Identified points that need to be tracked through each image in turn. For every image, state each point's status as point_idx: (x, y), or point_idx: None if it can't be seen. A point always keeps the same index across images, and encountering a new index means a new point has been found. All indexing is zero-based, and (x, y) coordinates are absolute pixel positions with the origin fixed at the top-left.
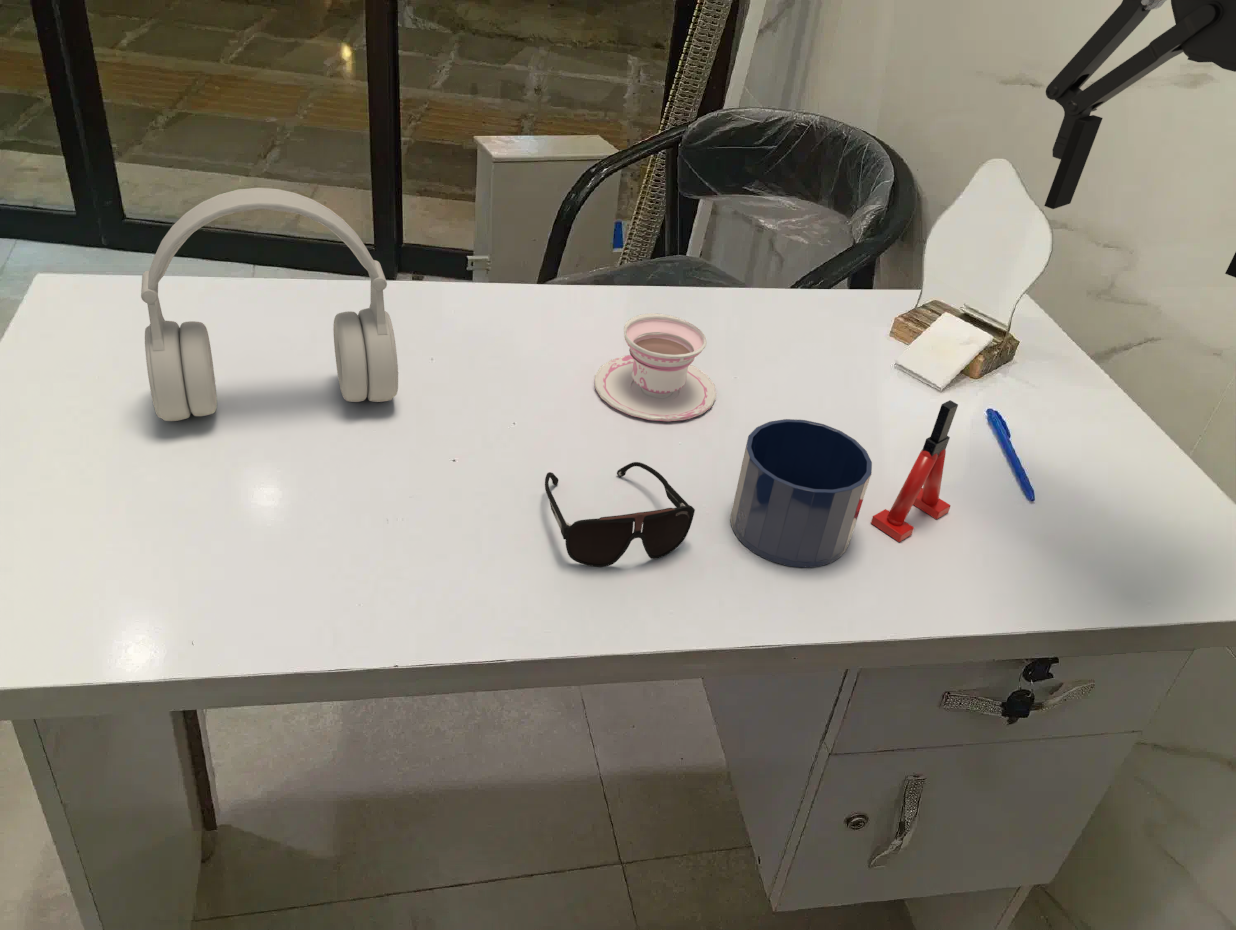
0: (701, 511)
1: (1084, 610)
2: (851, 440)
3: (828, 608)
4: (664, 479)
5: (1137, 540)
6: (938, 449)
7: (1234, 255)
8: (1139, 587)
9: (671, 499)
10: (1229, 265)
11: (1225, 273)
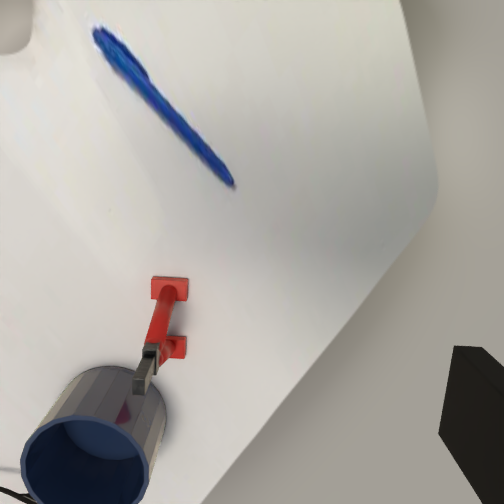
0: None
1: (343, 303)
2: (92, 420)
3: (198, 461)
4: (15, 497)
5: (341, 154)
6: (158, 362)
7: (460, 465)
8: (368, 229)
9: None
10: (448, 447)
11: (439, 435)
